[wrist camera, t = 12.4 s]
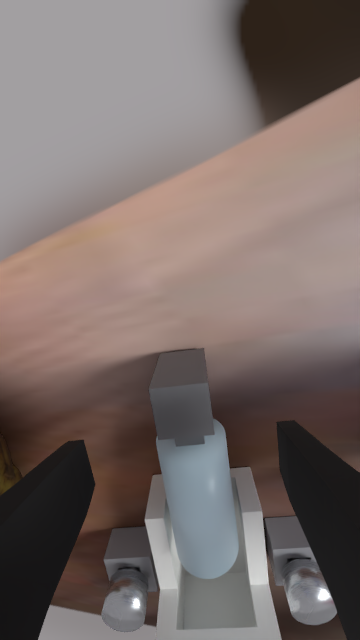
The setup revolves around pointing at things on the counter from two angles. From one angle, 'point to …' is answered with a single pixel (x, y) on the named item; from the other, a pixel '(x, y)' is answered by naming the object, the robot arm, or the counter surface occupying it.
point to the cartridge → (194, 464)
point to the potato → (7, 468)
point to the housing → (219, 593)
